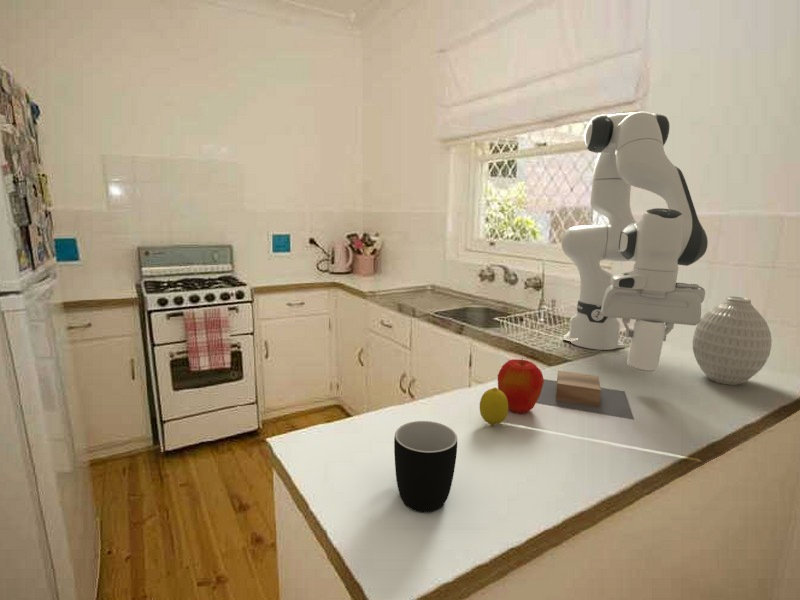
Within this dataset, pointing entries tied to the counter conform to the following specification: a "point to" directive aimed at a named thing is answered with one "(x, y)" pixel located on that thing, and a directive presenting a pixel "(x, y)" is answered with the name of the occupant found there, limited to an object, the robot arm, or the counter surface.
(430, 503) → the mug
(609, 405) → the mat
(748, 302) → the vase
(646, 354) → the can
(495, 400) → the lemon
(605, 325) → the robot arm
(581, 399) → the plinth
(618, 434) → the counter surface
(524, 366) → the apple
